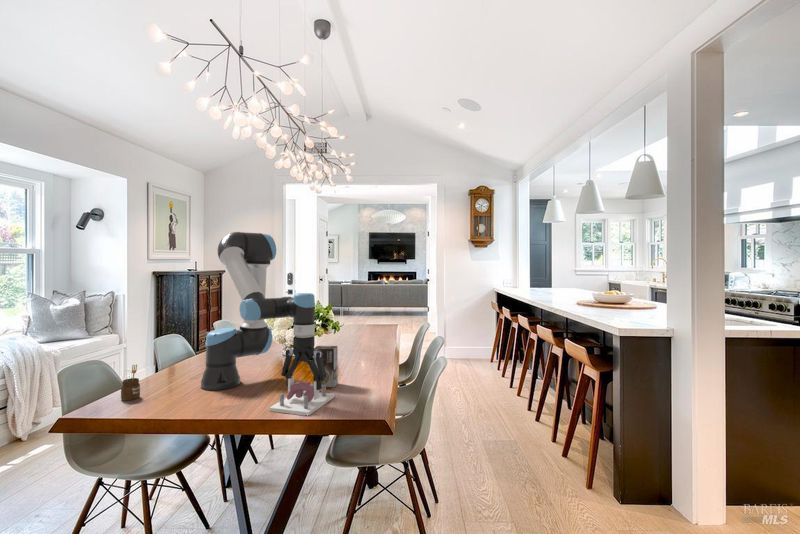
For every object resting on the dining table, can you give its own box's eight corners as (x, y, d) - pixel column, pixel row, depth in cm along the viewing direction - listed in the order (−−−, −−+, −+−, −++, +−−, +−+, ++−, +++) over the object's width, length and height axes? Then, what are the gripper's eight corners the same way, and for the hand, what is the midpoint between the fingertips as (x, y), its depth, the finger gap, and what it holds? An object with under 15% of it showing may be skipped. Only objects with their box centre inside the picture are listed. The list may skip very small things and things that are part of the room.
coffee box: (338, 383, 168) (338, 345, 168) (334, 387, 161) (334, 348, 161) (317, 382, 168) (317, 345, 169) (312, 387, 162) (312, 348, 162)
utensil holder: (117, 401, 143) (117, 368, 143) (126, 396, 149) (126, 364, 149) (135, 400, 144) (135, 368, 144) (143, 395, 150) (143, 364, 151)
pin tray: (269, 411, 134) (269, 395, 134) (299, 393, 154) (299, 380, 154) (308, 415, 130) (308, 400, 130) (334, 397, 149) (334, 383, 149)
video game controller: (315, 404, 140) (319, 384, 143) (308, 402, 136) (313, 381, 139) (291, 401, 143) (296, 381, 146) (284, 398, 139) (289, 379, 142)
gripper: (271, 335, 142) (270, 397, 142) (327, 339, 135) (326, 403, 135) (283, 332, 149) (282, 391, 149) (336, 335, 142) (336, 396, 142)
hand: (303, 397), depth 142 cm, fingers closed on video game controller, 10 cm apart
